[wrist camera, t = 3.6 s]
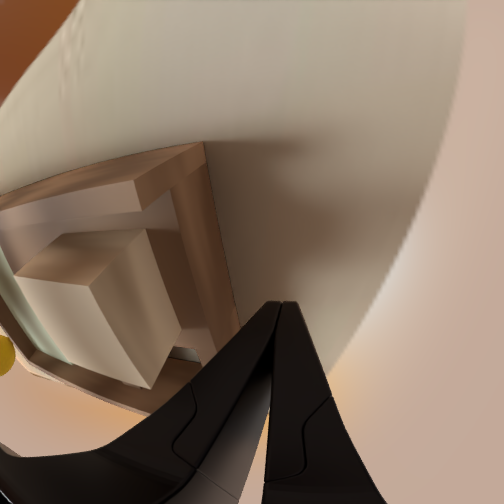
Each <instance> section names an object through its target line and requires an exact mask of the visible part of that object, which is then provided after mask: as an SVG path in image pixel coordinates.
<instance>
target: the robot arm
mask: <svg viewBox="0 0 504 504" xmlns="http://www.w3.org/2000/svg"><path fill="white" fill-rule="evenodd" d="M269 407H270V411H269V426H268V440H267V451H266V464H265V475H264V482H265V483H264V486H263V495H262V502H261V504H387V503H386V501H385V500H384V498H383V497H382V496H381V494H380V492H379V491H378V489H377V487H376V486H375V484H374V482H373V480H372V478H371V477H370V475H369V473H368V471H367V469H366V467H365V465H364V464H363V462H362V460H361V458H360V456H359V454H358V453H357V451H356V449H355V447H354V445H353V443H352V441H351V439H350V437H349V435H348V433H347V431H346V429H345V426H344V424H343V421H342V419H341V416H340V414H339V412H338V409H337V406H336V403H335V401H334V398H333V397H332V393H331V390H330V387H329V384H328V382H327V379H326V376H325V373H324V371H323V368H322V365H321V363H320V360H319V357H318V355H317V352H316V349H315V346H314V344H313V341H312V339H311V336H310V333H309V331H308V328H307V325H306V323H305V320H304V317H303V315H302V312H301V310H300V307H299V304H298V303H297V302H296V301H284V302H283V303H282V302H281V301H267V302H266V303H265V304H264V305H263V306H262V307H261V308H260V309H259V310H258V311H257V312H256V313H255V314H254V316H253V317H252V318H251V319H250V320H249V321H248V322H247V323H246V324H245V325H244V326H243V327H242V328H241V329H240V330H239V331H238V332H237V333H236V334H235V335H234V336H233V337H232V338H231V339H230V341H229V342H228V343H227V344H226V345H225V346H224V347H223V348H222V349H221V350H220V351H219V352H218V353H217V354H216V355H215V356H214V357H213V358H212V359H211V360H210V361H209V362H208V363H207V364H206V365H205V366H204V367H203V368H202V369H201V370H200V371H199V372H198V373H197V374H196V375H195V376H194V377H193V378H192V379H191V380H190V382H187V383H186V384H185V385H184V386H183V387H182V388H181V389H180V390H179V391H178V392H177V393H176V394H175V395H173V396H172V397H171V398H170V399H169V400H168V401H167V402H166V403H165V404H163V405H162V406H161V407H159V408H158V409H157V410H156V411H154V412H153V413H152V414H151V415H149V416H148V417H147V418H145V419H144V420H143V421H141V422H140V423H138V424H137V425H135V426H134V427H133V428H131V429H130V430H128V431H127V432H125V433H124V434H123V435H121V436H120V437H118V438H117V439H115V440H114V441H112V442H110V443H109V444H107V445H105V446H103V447H100V448H98V449H94V450H91V451H86V452H79V453H71V454H63V455H53V456H41V457H21V456H20V455H18V454H17V453H15V452H14V451H12V450H11V449H10V448H8V447H6V446H5V445H4V444H2V443H0V504H238V502H239V499H240V497H241V493H242V491H243V488H244V485H245V482H246V480H247V477H248V473H249V471H250V468H251V465H252V462H253V459H254V456H255V452H256V449H257V446H258V443H259V440H260V437H261V433H262V430H263V427H264V424H265V420H266V417H267V414H268V410H269Z"/></svg>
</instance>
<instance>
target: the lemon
mask: <svg viewBox="0 0 504 504" xmlns="http://www.w3.org/2000/svg"><path fill="white" fill-rule="evenodd" d="M14 361H15V349H14V346H13V343H12V341H11V340H10V339H9V337H5V336H2V335H0V376H2V375H4V374H6V373H7V372H8V371H9V370H10V369H11V367H12V366H13V364H14Z"/></svg>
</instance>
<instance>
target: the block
mask: <svg viewBox="0 0 504 504" xmlns="http://www.w3.org/2000/svg"><path fill="white" fill-rule="evenodd" d="M13 276H14V278H15V280H16V282H17V283H18V285H19V287H20V289H21V291H22V293H23V294H24V296H25V298H26V299H27V301H28V303H29V305H30V306H31V308H32V309H33V311H34V313H35V314H36V316H37V317H38V319H39V321H40V322H41V324H42V325H43V327H44V328H45V330H46V331H47V333H48V334H49V335H50V337H51V338H52V340H53V341H54V343H55V344H56V345H57V347H58V348H59V349H60V351H61V352H62V353H63V355H64V356H65V357H66V359H67V360H68V361H69V362H71V363H74V364H76V365H79V366H81V367H84V368H86V369H89V370H92V371H94V372H97V373H100V374H103V375H106V376H108V377H111V378H114V379H117V380H121V381H124V382H127V383H130V384H133V385H137V386H140V387H144V388H147V389H151V388H152V386H153V384H154V382H155V381H156V379H157V377H158V375H159V373H160V371H161V369H162V367H163V365H164V363H165V361H166V359H167V357H168V355H169V353H170V351H171V349H172V347H173V345H174V343H175V341H176V339H177V338H178V336H179V334H180V332H181V330H182V329H181V326H180V324H179V321H178V319H177V316H176V314H175V311H174V309H173V306H172V304H171V301H170V299H169V296H168V293H167V291H166V288H165V285H164V282H163V280H162V277H161V274H160V271H159V269H158V266H157V263H156V260H155V257H154V254H153V251H152V248H151V245H150V242H149V239H148V236H147V232H146V229H127V230H109V231H93V232H78V233H64V234H61V235H60V236H59V237H57V238H56V239H55V240H54V241H53V242H51V243H50V244H49V245H48V246H46V247H45V248H44V249H43V250H42V251H40V252H39V253H38V254H37V255H36V256H35V257H33V258H32V259H31V260H30V261H29V262H28V263H27V264H25V265H24V266H23V267H22V268H21V269H20V270H19V271H18V272H17V273H16V274H15V275H13Z"/></svg>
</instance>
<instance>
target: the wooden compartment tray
mask: <svg viewBox="0 0 504 504" xmlns="http://www.w3.org/2000/svg"><path fill="white" fill-rule="evenodd" d="M127 229H146V232H147V236H148V239H149V242H150V245H151V248H152V251H153V254H154V257H155V260H156V263H157V266H158V269H159V271H160V274H161V277H162V280H163V282H164V285H165V288H166V291H167V293H168V296H169V299H170V301H171V304H172V306H173V309H174V311H175V314H176V316H177V319H178V321H179V324H180V326H181V329H182V330H181V332H180V334H179V336H178V338H177V339H176V341H175V343H174V345H173V346H178V347H184V348H191V349H195V350H196V353H197V355H198V357H199V360H200V362H201V363H196V362H190V361H184V360H179V359H173V358H168V357H167V359H166V361H165V363H164V365H163V367H162V369H161V371H160V373H159V375H158V377H157V379H156V381H155V382H154V384H153V386H152V388H151V389H147V388H144V387H140V386H137V385H133V384H130V383H127V382H124V381H121V380H117V379H114V378H111V377H108V376H106V375H103V374H100V373H97V372H94V371H92V370H89V369H86V368H84V367H81V366H79V365H76V364H74V363H71V362H69V361H68V360H67V359H66V357H65V356H64V355H63V353H62V352H61V351H60V349H59V348H58V347H57V345H56V344H55V343H54V341H53V340H52V338H51V337H50V335H49V334H48V333H47V331H46V330H45V328H44V327H43V325H42V324H41V322H40V321H39V319H38V317H37V316H36V314H35V313H34V311H33V309H32V308H31V306H30V305H29V303H28V301H27V299H26V298H25V296H24V294H23V293H22V291H21V289H20V287H19V285H18V283H17V282H16V280H15V278H14V276H13V275H15V274H16V273H17V272H18V271H19V270H20V269H21V268H22V267H23V266H24V265H25V264H27V263H28V262H29V261H30V260H31V259H32V258H33V257H35V256H36V255H37V254H38V253H39V252H40V251H42V250H43V249H44V248H45V247H46V246H48V245H49V244H50V243H51V242H53V241H54V240H55V239H56V238H57V237H59V236H60V235H61V234H64V233H78V232H93V231H109V230H127ZM0 326H1V327H2V329H3V330H4V332H5V333H6V334H7V336H8V337H9V339H10V340H11V341H12V343H13V344H14V345H15V347H16V348H17V349H18V351H19V352H20V353H21V354H22V356H23V357H24V358H25V359H26V361H27V362H28V363H29V364H30V365H32V366H34V367H35V368H37V369H39V370H41V371H43V372H44V373H46V374H48V375H50V376H52V377H54V378H56V379H57V380H59V381H61V382H63V383H65V384H67V385H69V386H72V387H74V388H76V389H78V390H80V391H82V392H84V393H87V394H89V395H91V396H94V397H96V398H98V399H101V400H103V401H105V402H108V403H110V404H113V405H116V406H119V407H121V408H124V409H126V410H129V411H132V412H135V413H138V414H141V415H144V416H147V417H148V416H149V415H151V414H152V413H153V412H154V411H156V410H157V409H158V408H159V407H161V406H162V405H163V404H165V403H166V402H167V401H168V400H169V399H170V398H171V397H172V396H173V395H175V394H176V393H177V392H178V391H179V390H180V389H181V388H182V387H183V386H184V385H185V384H186V383H187V382H190V380H191V379H192V378H193V377H194V376H195V375H196V374H197V373H198V372H199V371H200V370H201V369H202V368H203V367H204V366H205V365H206V364H207V363H208V362H209V361H210V360H211V359H212V358H213V357H214V356H215V355H216V354H217V353H218V352H219V351H220V350H221V349H222V348H223V347H224V346H225V345H226V344H227V343H228V342H229V341H230V339H231V338H232V337H233V336H234V335H235V334H236V333H237V332H238V331H239V330H240V324H239V320H238V315H237V311H236V306H235V302H234V297H233V292H232V288H231V283H230V279H229V274H228V269H227V264H226V260H225V255H224V250H223V245H222V240H221V235H220V230H219V225H218V220H217V215H216V210H215V205H214V200H213V194H212V189H211V184H210V178H209V173H208V167H207V162H206V156H205V151H204V145H203V141H202V142H196V143H189V144H183V145H177V146H172V147H166V148H161V149H156V150H151V151H146V152H141V153H137V154H132V155H128V156H124V157H119V158H115V159H111V160H107V161H104V162H100V163H96V164H92V165H89V166H85V167H82V168H78V169H75V170H72V171H68V172H65V173H62V174H59V175H56V176H53V177H50V178H47V179H44V180H41V181H38V182H36V183H33V184H30V185H27V186H25V187H22V188H19V189H17V190H14V191H12V192H9V193H7V194H5V195H2V196H0Z"/></svg>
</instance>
